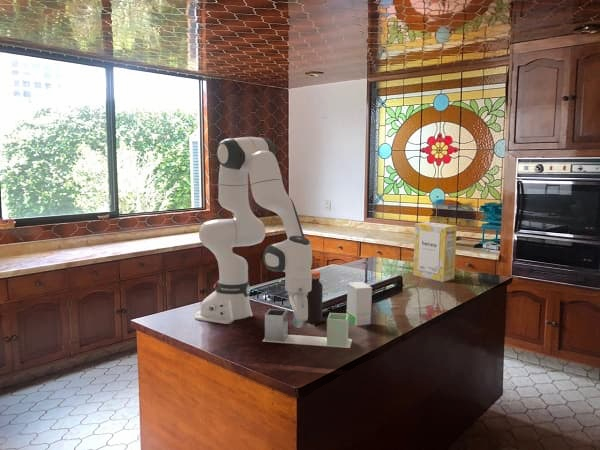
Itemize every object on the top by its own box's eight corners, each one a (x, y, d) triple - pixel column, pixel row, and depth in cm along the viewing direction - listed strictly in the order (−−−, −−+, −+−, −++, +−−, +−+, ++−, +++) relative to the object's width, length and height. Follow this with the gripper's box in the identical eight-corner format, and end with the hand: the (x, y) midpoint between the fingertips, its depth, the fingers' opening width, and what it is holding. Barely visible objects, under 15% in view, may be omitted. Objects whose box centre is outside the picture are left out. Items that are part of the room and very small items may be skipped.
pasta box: (413, 275, 255) (415, 223, 251) (424, 272, 262) (426, 221, 258) (443, 281, 241) (445, 227, 237) (454, 278, 248) (456, 225, 244)
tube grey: (265, 340, 160) (264, 315, 159) (269, 333, 166) (269, 309, 165) (283, 342, 159) (283, 316, 157) (287, 335, 165) (287, 310, 164)
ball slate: (290, 328, 160) (290, 317, 160) (294, 324, 164) (294, 313, 163) (301, 330, 159) (301, 319, 158) (305, 326, 163) (305, 315, 162)
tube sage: (326, 345, 156) (327, 319, 155) (329, 338, 162) (329, 312, 161) (346, 346, 155) (346, 320, 153) (348, 339, 161) (348, 314, 160)
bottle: (311, 319, 185) (311, 269, 182) (325, 322, 181) (326, 271, 178) (300, 323, 180) (300, 272, 177) (314, 327, 175) (315, 275, 173)
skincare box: (345, 322, 182) (346, 282, 179) (361, 320, 184) (361, 281, 182) (355, 329, 174) (356, 288, 172) (371, 327, 176) (372, 286, 174)
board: (262, 344, 160) (262, 341, 159) (268, 336, 167) (267, 333, 167) (350, 351, 154) (350, 347, 154) (352, 342, 161) (352, 339, 161)
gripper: (313, 294, 149) (312, 335, 152) (303, 276, 169) (302, 313, 172) (293, 294, 148) (292, 336, 151) (285, 276, 168) (285, 313, 171)
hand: (297, 323), depth 161 cm, fingers closed on ball slate, 4 cm apart
